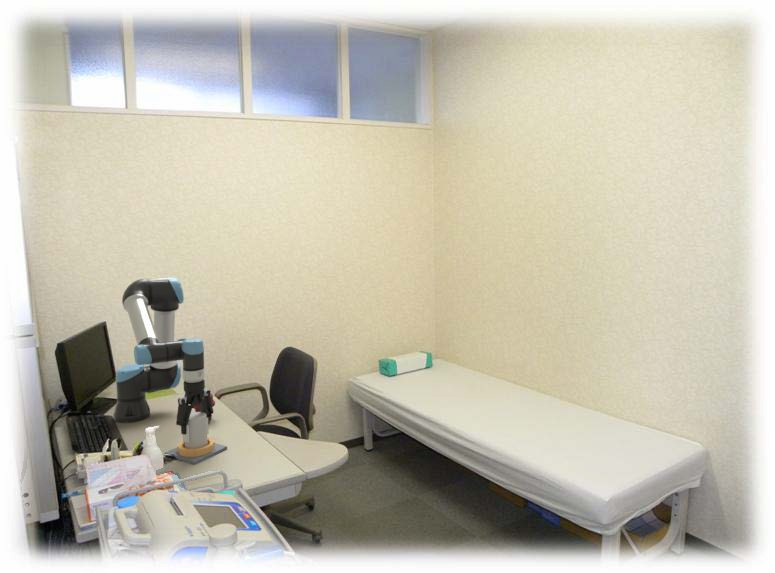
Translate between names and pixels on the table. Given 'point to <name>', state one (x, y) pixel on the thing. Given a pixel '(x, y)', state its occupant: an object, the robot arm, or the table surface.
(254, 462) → the table surface
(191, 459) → the socket board
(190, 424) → the grey cylinder
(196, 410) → the mechanical component
